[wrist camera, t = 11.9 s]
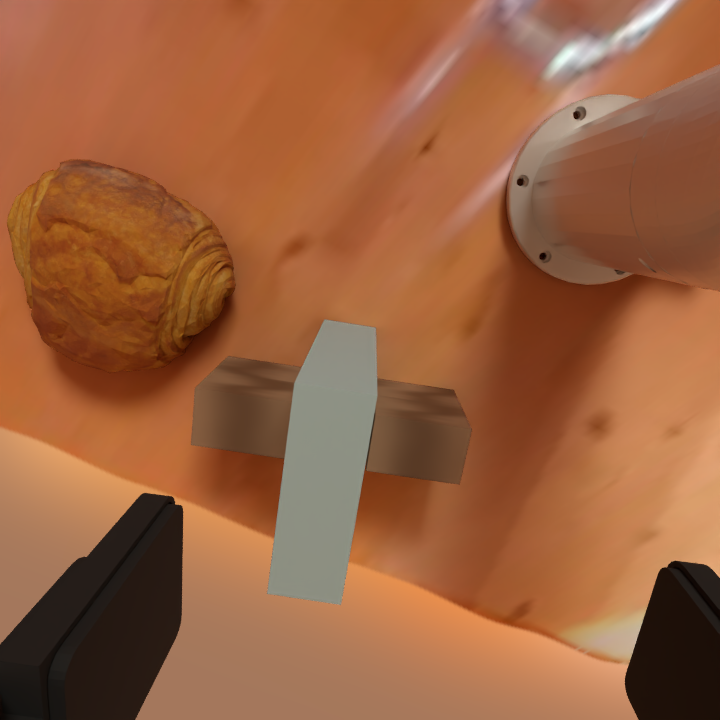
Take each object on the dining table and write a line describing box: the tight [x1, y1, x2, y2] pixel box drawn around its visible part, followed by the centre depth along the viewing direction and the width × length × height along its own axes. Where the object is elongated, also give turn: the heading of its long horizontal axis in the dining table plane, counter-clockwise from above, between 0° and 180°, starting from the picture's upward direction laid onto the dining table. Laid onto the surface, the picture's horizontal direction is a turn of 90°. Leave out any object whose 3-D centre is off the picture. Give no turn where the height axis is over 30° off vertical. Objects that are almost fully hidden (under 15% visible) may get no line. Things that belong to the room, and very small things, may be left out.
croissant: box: [7, 160, 236, 373], centre depth 37 cm, size 14×16×8 cm
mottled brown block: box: [191, 356, 472, 485], centre depth 38 cm, size 18×4×8 cm, turn 81°
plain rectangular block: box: [267, 320, 377, 605], centre depth 34 cm, size 12×4×16 cm, turn 171°
